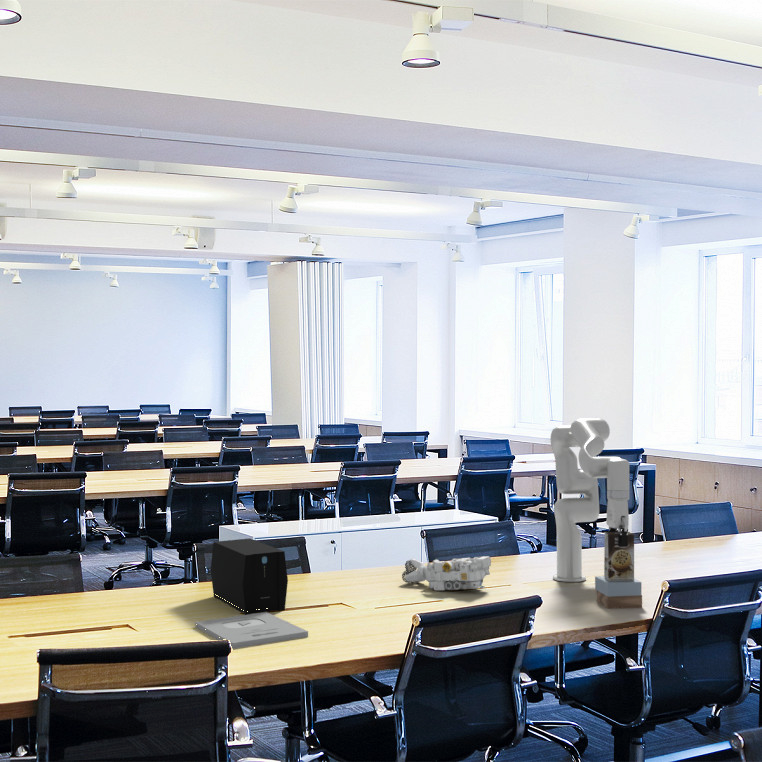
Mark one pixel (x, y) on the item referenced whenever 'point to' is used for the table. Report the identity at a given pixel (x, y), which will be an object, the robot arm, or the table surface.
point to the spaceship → (449, 573)
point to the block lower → (619, 601)
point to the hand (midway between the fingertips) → (618, 544)
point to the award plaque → (251, 629)
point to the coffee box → (618, 558)
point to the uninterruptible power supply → (249, 575)
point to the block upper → (617, 587)
